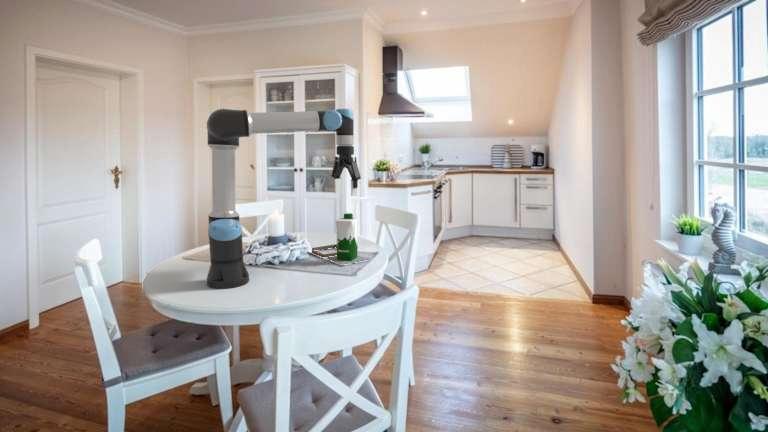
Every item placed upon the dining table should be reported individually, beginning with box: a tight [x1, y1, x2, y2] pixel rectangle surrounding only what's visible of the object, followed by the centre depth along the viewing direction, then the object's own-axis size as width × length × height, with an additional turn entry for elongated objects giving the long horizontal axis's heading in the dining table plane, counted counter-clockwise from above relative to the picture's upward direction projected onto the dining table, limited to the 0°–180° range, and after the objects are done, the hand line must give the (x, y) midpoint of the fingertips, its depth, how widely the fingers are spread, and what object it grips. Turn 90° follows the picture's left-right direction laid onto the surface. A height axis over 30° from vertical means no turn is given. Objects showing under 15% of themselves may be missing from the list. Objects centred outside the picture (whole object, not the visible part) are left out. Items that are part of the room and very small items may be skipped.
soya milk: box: [335, 212, 359, 261], centre depth 196 cm, size 9×9×20 cm
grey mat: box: [327, 254, 370, 265], centre depth 198 cm, size 14×14×1 cm
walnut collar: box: [311, 243, 337, 257], centre depth 212 cm, size 16×16×2 cm
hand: (345, 194), depth 193 cm, fingers open, 13 cm apart
